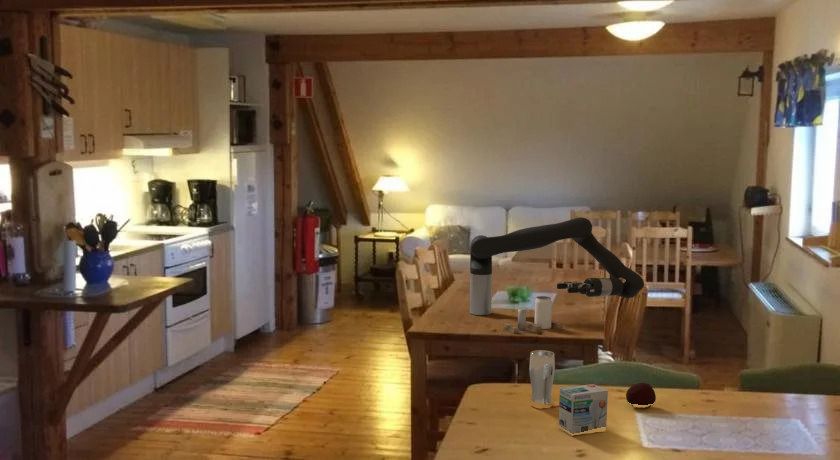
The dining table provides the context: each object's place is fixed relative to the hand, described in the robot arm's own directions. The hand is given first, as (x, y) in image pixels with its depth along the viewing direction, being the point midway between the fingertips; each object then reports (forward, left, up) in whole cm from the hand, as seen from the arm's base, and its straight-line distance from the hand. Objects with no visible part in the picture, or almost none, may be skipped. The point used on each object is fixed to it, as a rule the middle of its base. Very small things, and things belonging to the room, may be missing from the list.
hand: (562, 288), depth 332 cm
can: (+2, -10, -15) cm, 18 cm away
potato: (+96, -33, -16) cm, 102 cm away
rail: (+3, -15, -16) cm, 22 cm away
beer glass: (+85, -58, -16) cm, 104 cm away
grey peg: (+3, -19, -15) cm, 25 cm away
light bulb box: (+106, -58, -16) cm, 121 cm away
